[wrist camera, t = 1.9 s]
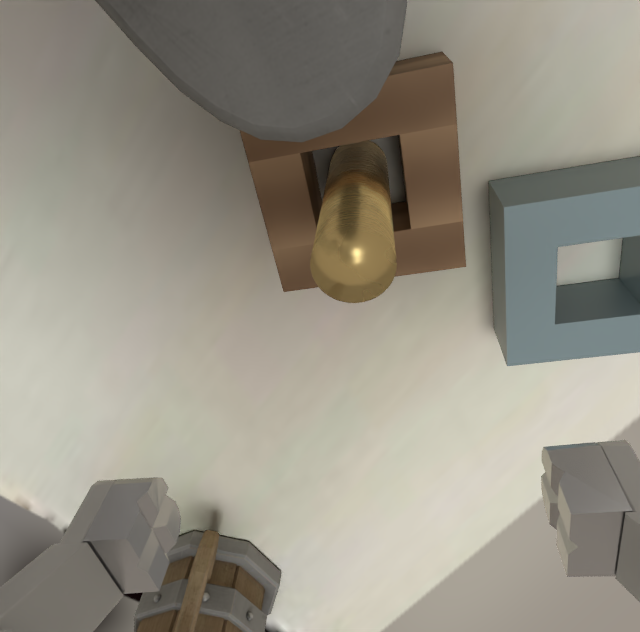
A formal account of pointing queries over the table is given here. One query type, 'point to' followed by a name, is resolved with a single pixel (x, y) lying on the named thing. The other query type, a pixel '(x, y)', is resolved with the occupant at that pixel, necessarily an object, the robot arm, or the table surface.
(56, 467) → the table surface
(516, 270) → the slate socket block
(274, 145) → the walnut mount
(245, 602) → the tankard
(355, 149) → the brass peg
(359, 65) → the flask
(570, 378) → the table surface
